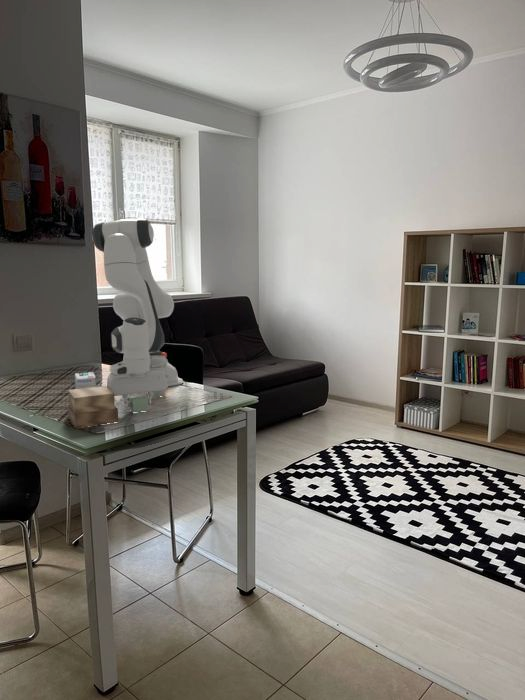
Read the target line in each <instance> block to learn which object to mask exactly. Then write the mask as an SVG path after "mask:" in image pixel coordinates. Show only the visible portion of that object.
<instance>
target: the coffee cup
mask: <svg viewBox="0 0 525 700" xmlns="http://www.w3.org/2000/svg"><path fill="white" fill-rule="evenodd" d="M167 363H169V361H168V359H167V356H166V357H165V356H150V365H157V364H162V365H165V366H166V368H167ZM163 367H164V366H163ZM146 393H147V397H148V396H149V394H148V392H146ZM164 395H165V396H166V390H163V391H154V395H153V397H158V398H161V397H160V396H163V397H165V396H164Z"/></svg>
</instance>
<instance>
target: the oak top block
mask: <svg viewBox="0 0 525 700" xmlns="http://www.w3.org/2000/svg"><path fill="white" fill-rule="evenodd" d="M67 393H68V395H67V396H68V405H69V406H70V407H71V408H72V410H73V411H74V413H75V414H79V413H86V412H94V411H102V410H109V409H115V407H116V399H115V397H116V396H114V393H113V392H112V391H111V390H110V389H109V388H108V387H107V385H101V386H96V387H91V388H82V389H75V388H74V389H68V390H67Z"/></svg>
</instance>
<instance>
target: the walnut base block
mask: <svg viewBox="0 0 525 700" xmlns="http://www.w3.org/2000/svg"><path fill="white" fill-rule="evenodd" d="M67 411H68V413H67V414H68V420H69V419H70V420H71V421H70V420H69V421H70V423H71V422H72V423H71V424H72V426H73V425H74V426H73V428H74V427H75V428H82V427H88V426H94V425H101V424H107V423H114V422H119V409H118V408H117V406H115V409H109V410H102V411H94V412H86V413H79V414H75V413H74V411H73V410H72V408H71V407H70V406H69V404H67ZM75 428H74V429H75ZM82 429H83V428H82Z"/></svg>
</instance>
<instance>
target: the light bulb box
mask: <svg viewBox="0 0 525 700" xmlns="http://www.w3.org/2000/svg"><path fill="white" fill-rule="evenodd" d="M74 387H75V388H74V389H82V388H91V387H97V377H96V375H95V373H94V371H89V372H79V373H74Z"/></svg>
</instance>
